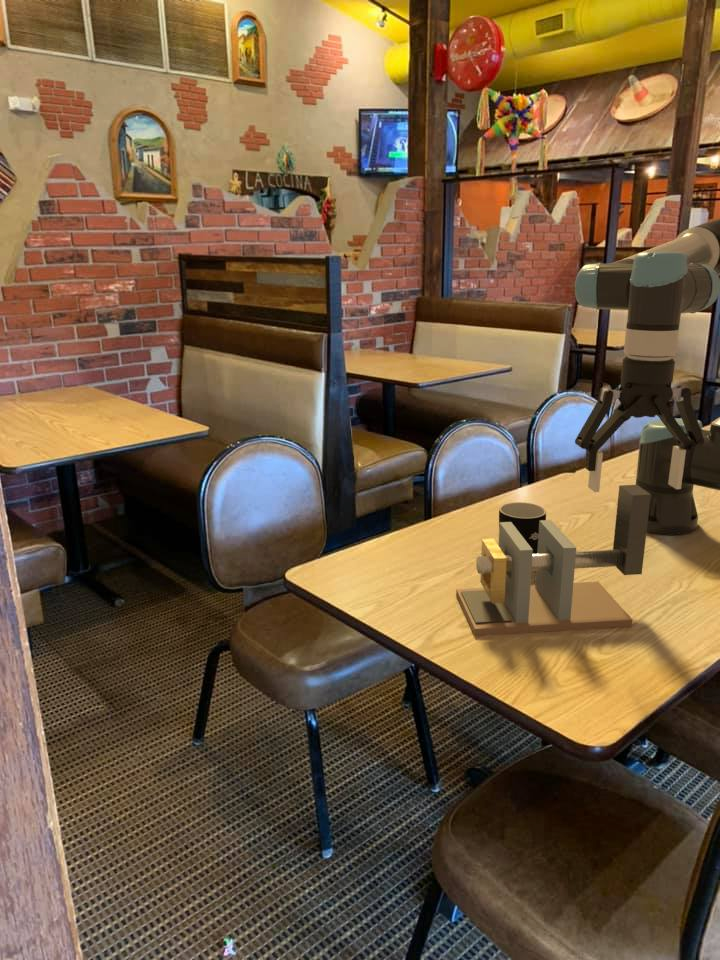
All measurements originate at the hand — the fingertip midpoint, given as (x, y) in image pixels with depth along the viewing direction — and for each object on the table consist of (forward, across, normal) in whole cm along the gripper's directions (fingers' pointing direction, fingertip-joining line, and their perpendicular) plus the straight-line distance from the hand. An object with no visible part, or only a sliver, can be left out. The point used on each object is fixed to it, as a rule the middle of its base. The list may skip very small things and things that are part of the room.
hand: (634, 488), depth 117 cm
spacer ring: (+14, +23, 0) cm, 26 cm away
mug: (+22, +10, -23) cm, 33 cm away
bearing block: (+22, +14, 0) cm, 26 cm away
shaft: (+14, +12, 0) cm, 19 cm away
